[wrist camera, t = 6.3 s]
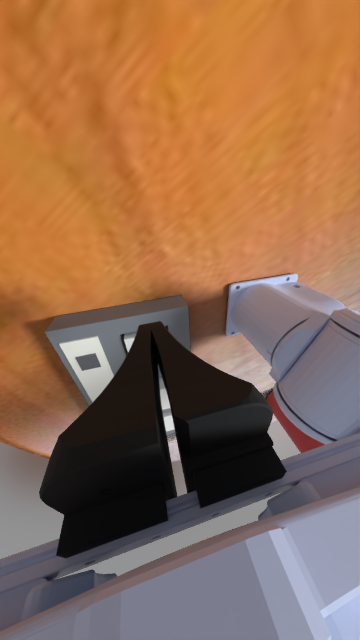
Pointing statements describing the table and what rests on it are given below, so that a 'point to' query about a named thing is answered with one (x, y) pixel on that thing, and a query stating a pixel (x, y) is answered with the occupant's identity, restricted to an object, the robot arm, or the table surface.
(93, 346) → the button board
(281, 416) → the beer can
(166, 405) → the key middle
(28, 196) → the table surface
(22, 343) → the table surface
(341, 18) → the table surface
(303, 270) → the table surface
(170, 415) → the key
